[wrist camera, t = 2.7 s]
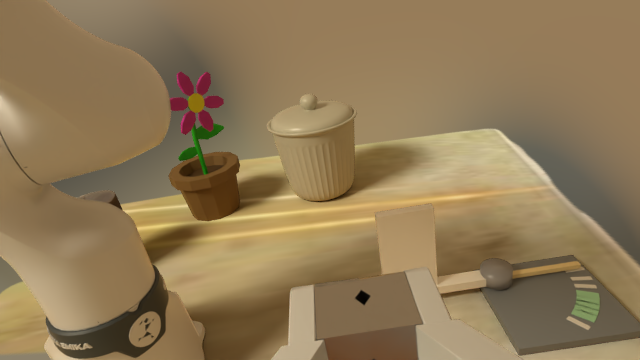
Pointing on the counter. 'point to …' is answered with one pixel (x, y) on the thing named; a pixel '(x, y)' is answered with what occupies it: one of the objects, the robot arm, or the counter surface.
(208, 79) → the flowerpot
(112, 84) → the robot arm
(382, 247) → the upright cream panel
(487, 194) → the counter surface
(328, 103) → the canister
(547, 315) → the dial board
